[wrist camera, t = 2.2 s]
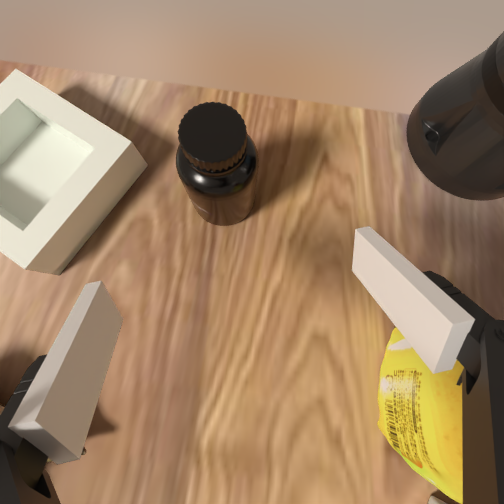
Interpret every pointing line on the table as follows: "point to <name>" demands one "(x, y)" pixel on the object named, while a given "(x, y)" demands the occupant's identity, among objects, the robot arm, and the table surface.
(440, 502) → the skincare box
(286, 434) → the table surface
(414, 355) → the bottle
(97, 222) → the holder
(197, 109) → the supplement bottle
